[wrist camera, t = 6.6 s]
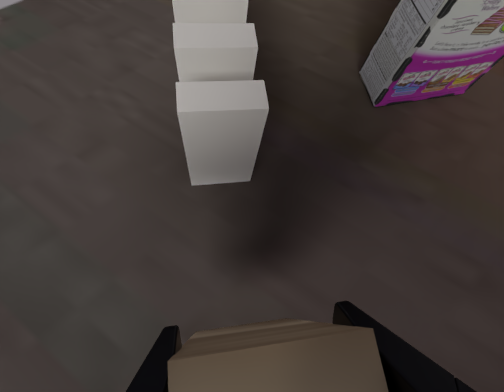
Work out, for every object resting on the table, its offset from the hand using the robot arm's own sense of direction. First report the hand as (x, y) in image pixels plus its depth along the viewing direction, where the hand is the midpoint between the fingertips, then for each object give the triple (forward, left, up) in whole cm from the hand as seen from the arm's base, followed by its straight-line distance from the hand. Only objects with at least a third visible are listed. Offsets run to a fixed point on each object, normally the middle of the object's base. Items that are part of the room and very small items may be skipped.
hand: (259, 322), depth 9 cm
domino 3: (+15, +6, -13) cm, 21 cm away
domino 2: (+11, +4, -13) cm, 18 cm away
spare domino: (-1, 0, -8) cm, 8 cm away
